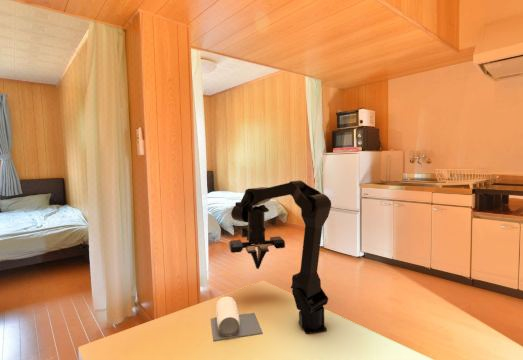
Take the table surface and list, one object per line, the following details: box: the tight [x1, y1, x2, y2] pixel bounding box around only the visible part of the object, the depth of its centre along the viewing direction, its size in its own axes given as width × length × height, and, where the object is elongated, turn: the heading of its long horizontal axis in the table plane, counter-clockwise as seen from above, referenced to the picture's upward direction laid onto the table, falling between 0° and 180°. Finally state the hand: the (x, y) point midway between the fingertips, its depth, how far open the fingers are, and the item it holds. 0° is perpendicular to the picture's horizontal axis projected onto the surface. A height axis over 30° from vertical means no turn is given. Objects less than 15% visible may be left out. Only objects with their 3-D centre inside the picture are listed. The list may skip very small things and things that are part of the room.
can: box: [215, 296, 240, 336], centre depth 93 cm, size 6×6×12 cm
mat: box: [210, 312, 264, 342], centre depth 93 cm, size 14×12×1 cm
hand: (257, 268), depth 107 cm, fingers closed
